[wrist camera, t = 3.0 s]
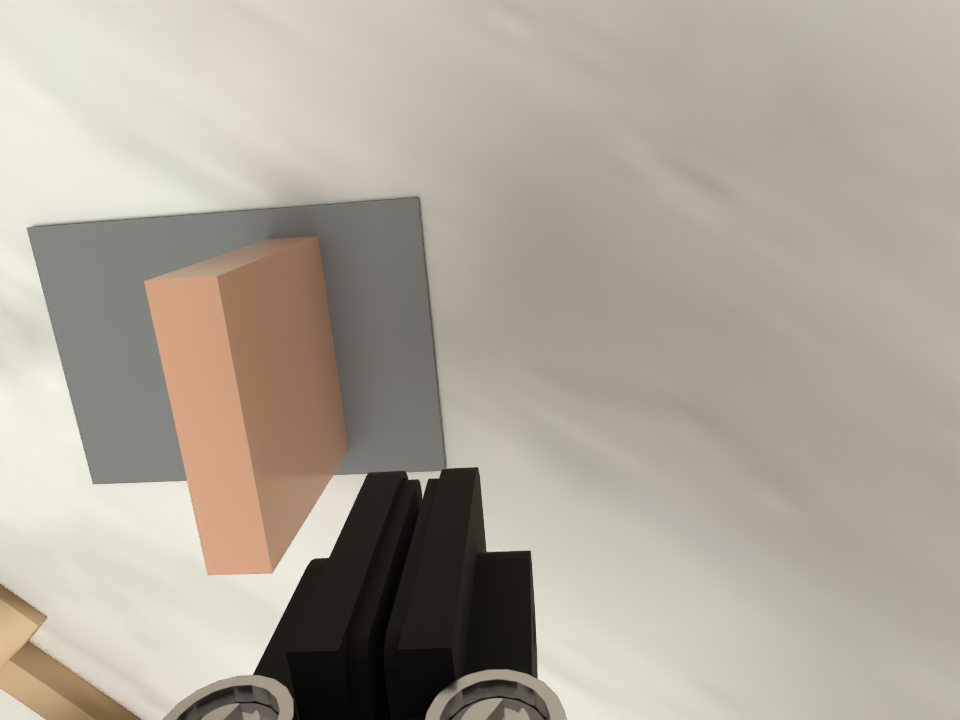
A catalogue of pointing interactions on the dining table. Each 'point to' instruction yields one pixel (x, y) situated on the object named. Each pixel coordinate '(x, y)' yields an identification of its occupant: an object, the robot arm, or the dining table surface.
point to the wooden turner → (45, 671)
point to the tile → (251, 395)
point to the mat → (195, 238)
